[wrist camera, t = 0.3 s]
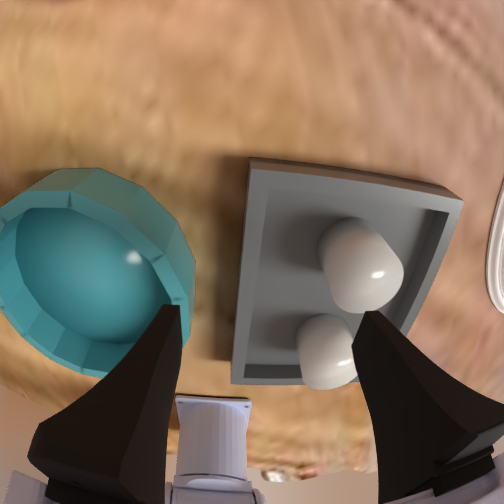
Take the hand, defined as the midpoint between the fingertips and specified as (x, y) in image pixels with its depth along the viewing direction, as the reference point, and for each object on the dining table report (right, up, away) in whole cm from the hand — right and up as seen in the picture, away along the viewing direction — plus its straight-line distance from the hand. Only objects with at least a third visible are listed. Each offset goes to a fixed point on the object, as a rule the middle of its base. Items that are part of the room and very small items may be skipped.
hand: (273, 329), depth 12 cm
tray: (+5, 0, +11) cm, 12 cm away
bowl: (-13, +1, +10) cm, 16 cm away
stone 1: (+5, -4, +12) cm, 14 cm away
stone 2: (+6, +3, +8) cm, 11 cm away
